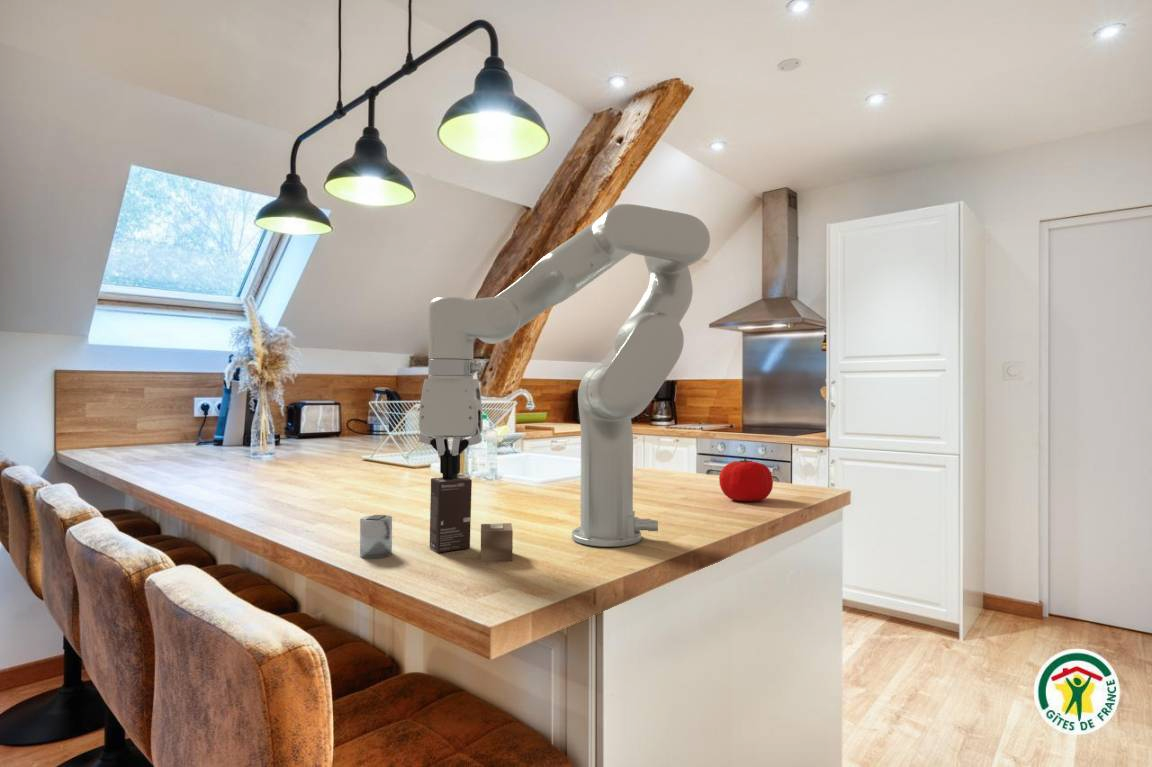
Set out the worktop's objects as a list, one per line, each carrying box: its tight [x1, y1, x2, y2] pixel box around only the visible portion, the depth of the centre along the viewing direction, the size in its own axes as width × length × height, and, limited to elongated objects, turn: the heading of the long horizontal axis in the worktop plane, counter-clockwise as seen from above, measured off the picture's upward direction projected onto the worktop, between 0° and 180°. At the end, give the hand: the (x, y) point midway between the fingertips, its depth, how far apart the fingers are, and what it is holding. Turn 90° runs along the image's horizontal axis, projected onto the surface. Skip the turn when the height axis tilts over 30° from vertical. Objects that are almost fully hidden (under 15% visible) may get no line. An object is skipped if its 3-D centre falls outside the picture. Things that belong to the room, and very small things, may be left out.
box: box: [429, 475, 473, 554], centre depth 105 cm, size 6×4×12 cm
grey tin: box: [359, 514, 393, 560], centre depth 101 cm, size 5×5×6 cm
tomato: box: [718, 458, 774, 502], centre depth 149 cm, size 11×13×10 cm
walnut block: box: [480, 522, 514, 563], centre depth 100 cm, size 5×5×5 cm
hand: (450, 477), depth 105 cm, fingers closed
